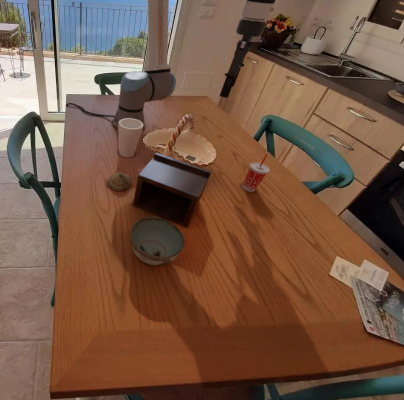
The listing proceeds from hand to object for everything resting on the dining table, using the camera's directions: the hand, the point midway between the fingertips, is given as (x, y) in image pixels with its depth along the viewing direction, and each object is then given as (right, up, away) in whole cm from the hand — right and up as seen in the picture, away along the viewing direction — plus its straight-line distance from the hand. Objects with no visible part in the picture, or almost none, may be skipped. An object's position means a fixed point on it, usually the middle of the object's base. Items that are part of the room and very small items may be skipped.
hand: (226, 91), depth 95 cm
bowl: (-32, -54, -23) cm, 66 cm away
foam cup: (-34, -19, +16) cm, 42 cm away
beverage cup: (+9, -34, +2) cm, 36 cm away
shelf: (-24, -40, -7) cm, 47 cm away
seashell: (-38, -33, 0) cm, 50 cm away
